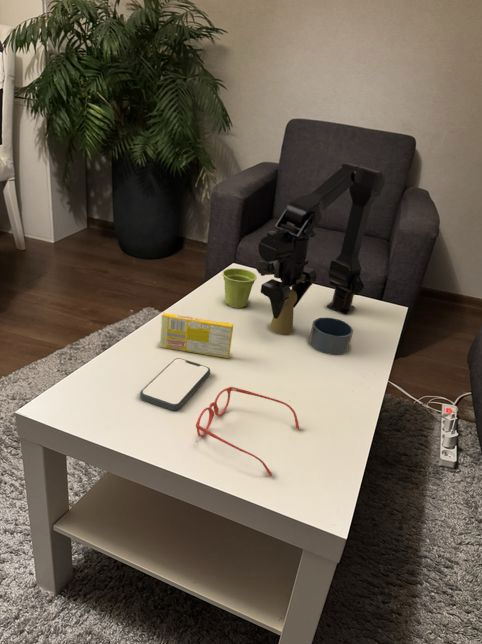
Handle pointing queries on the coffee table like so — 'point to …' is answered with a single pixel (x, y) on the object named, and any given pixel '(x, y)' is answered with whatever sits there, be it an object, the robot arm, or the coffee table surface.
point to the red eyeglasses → (216, 409)
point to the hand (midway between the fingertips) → (284, 312)
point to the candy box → (196, 335)
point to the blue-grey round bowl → (330, 335)
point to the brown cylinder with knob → (285, 317)
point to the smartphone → (175, 384)
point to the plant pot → (238, 286)
